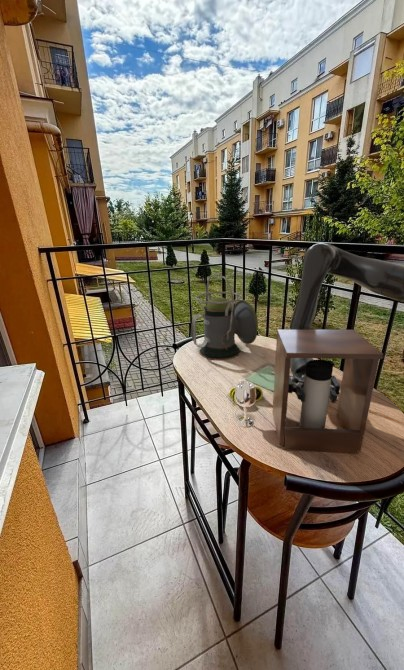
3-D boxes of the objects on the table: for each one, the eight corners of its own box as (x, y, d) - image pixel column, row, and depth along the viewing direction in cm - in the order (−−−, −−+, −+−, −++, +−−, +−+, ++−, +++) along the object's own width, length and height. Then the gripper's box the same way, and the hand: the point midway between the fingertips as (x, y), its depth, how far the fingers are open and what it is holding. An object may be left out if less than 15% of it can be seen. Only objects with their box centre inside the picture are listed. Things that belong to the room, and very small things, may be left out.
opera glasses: (256, 395, 94) (255, 381, 93) (263, 401, 89) (262, 386, 88) (229, 401, 91) (227, 386, 90) (235, 407, 86) (234, 391, 85)
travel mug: (329, 436, 73) (340, 367, 66) (305, 438, 72) (313, 369, 66) (318, 421, 79) (326, 356, 72) (295, 423, 78) (301, 358, 71)
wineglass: (241, 431, 76) (242, 393, 72) (231, 419, 81) (231, 382, 77) (259, 424, 78) (260, 387, 74) (248, 413, 83) (248, 378, 79)
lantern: (265, 354, 122) (268, 273, 110) (204, 368, 112) (201, 280, 100) (236, 336, 143) (237, 267, 131) (183, 347, 133) (178, 272, 121)
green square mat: (267, 366, 111) (267, 365, 111) (300, 378, 101) (300, 377, 101) (245, 379, 102) (245, 378, 102) (278, 394, 92) (278, 393, 92)
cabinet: (272, 412, 83) (277, 329, 74) (341, 414, 81) (354, 329, 72) (279, 449, 69) (286, 352, 60) (363, 454, 67) (383, 354, 58)
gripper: (280, 357, 85) (290, 385, 69) (330, 357, 83) (351, 387, 68) (279, 379, 87) (288, 411, 72) (327, 380, 86) (347, 413, 70)
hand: (318, 399), depth 70 cm, fingers open, 7 cm apart
